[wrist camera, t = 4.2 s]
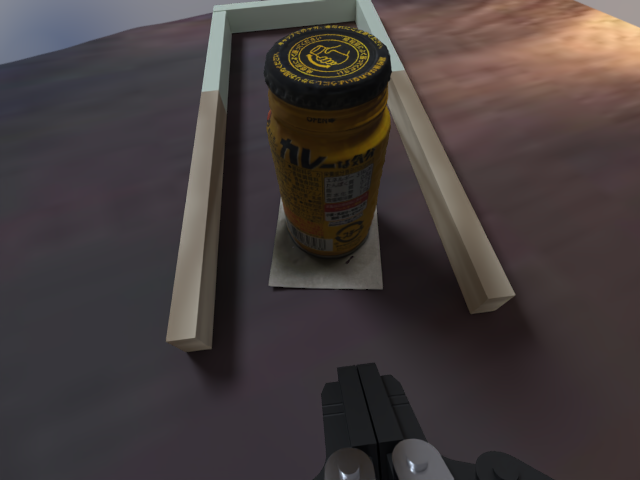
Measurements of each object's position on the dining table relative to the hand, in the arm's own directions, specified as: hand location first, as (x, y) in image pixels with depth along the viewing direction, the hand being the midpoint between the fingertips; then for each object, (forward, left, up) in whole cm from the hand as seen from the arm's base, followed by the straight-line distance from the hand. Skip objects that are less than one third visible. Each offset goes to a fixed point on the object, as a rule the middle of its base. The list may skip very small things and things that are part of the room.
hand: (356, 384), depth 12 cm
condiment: (0, +10, -5) cm, 12 cm away
